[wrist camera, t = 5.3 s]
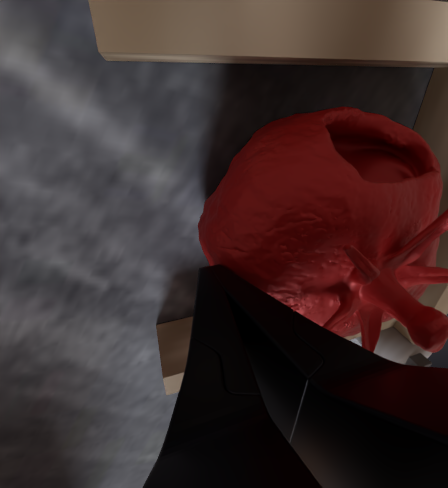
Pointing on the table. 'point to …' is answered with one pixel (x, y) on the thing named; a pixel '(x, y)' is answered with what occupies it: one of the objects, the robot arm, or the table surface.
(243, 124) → the table surface
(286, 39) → the frame
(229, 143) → the table surface
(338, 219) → the pomegranate
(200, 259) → the table surface
